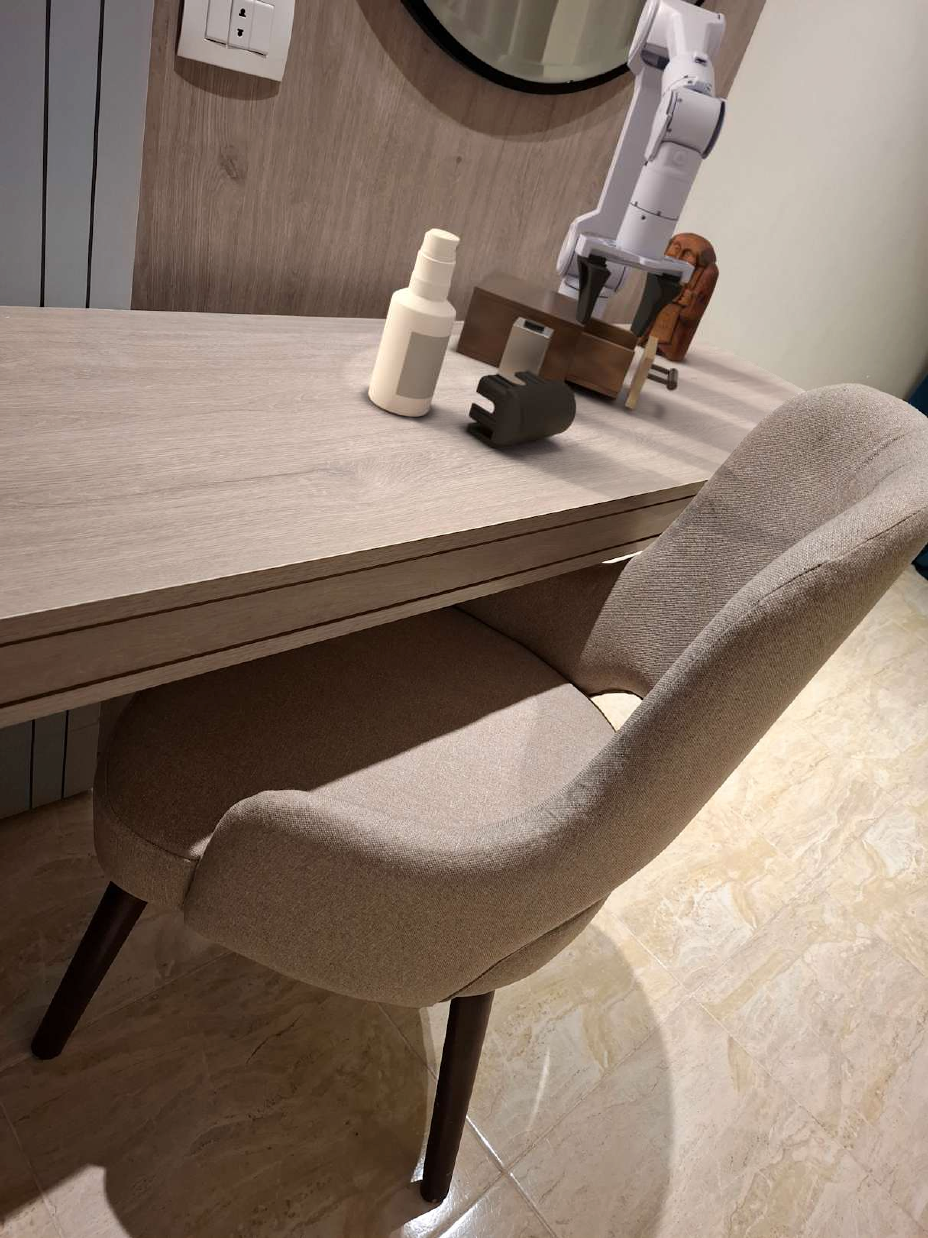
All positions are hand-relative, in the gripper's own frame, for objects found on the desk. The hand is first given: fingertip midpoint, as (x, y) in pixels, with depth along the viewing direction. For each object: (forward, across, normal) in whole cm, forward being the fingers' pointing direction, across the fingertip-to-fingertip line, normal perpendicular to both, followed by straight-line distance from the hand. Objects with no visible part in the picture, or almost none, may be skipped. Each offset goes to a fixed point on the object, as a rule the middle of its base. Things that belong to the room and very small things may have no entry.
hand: (608, 328), depth 108 cm
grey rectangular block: (+10, -9, +1) cm, 14 cm away
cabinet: (+10, -4, +14) cm, 18 cm away
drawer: (+9, +7, +8) cm, 14 cm away
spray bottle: (+11, -26, -8) cm, 29 cm away
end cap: (+11, -13, -13) cm, 22 cm away
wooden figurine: (+11, +27, +33) cm, 44 cm away
